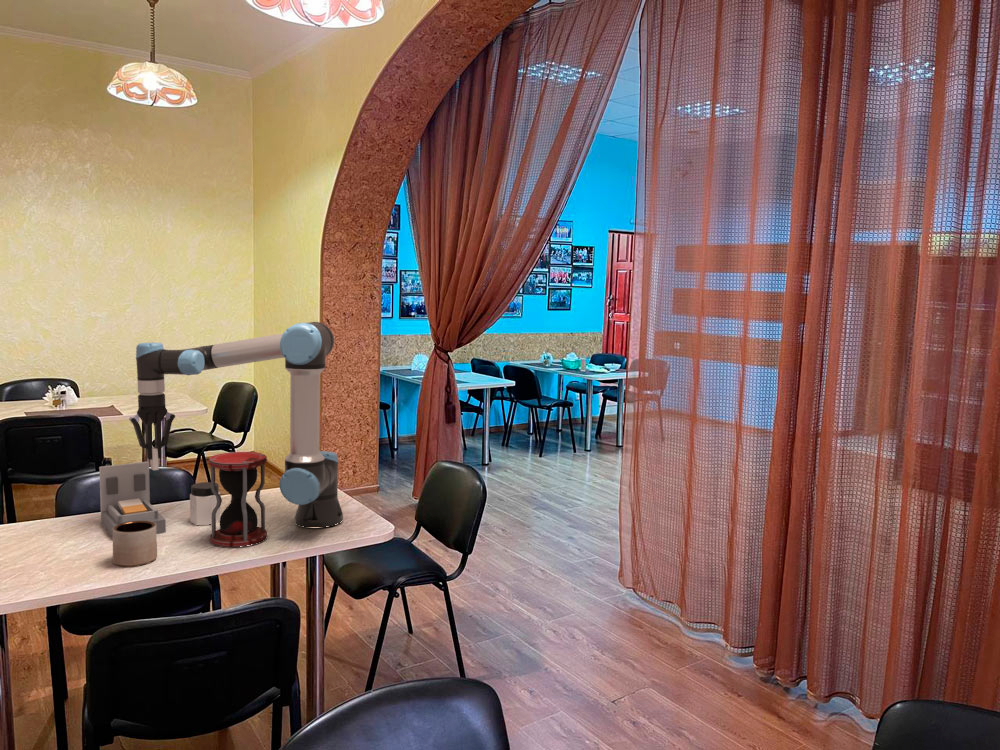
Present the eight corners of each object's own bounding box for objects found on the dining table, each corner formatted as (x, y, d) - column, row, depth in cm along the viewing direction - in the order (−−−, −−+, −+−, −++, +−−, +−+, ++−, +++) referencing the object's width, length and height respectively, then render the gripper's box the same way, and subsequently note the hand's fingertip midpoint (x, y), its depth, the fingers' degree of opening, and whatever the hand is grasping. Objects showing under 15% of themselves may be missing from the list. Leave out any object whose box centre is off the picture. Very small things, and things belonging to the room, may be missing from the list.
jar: (186, 521, 242) (185, 484, 241) (211, 516, 248) (210, 480, 247) (199, 528, 236) (198, 490, 235) (224, 522, 242) (223, 485, 241)
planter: (107, 559, 207) (106, 525, 206) (148, 550, 215) (147, 517, 214) (121, 570, 200) (120, 535, 199) (163, 561, 207) (162, 527, 206)
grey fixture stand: (165, 532, 231) (164, 474, 229) (115, 540, 222) (113, 480, 220) (148, 515, 247) (147, 461, 245) (101, 523, 238) (99, 466, 236)
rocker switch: (147, 515, 232) (147, 509, 232) (124, 518, 228) (124, 513, 228) (139, 503, 240) (139, 498, 239) (117, 506, 236) (117, 501, 235)
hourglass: (217, 551, 216) (216, 465, 213) (204, 535, 229) (203, 454, 226) (274, 542, 225) (273, 459, 222) (258, 527, 238) (257, 449, 235)
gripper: (170, 390, 239) (173, 464, 241) (125, 393, 231) (128, 470, 233) (177, 393, 233) (180, 468, 236) (131, 396, 225) (135, 474, 227)
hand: (154, 469), depth 234 cm, fingers closed
